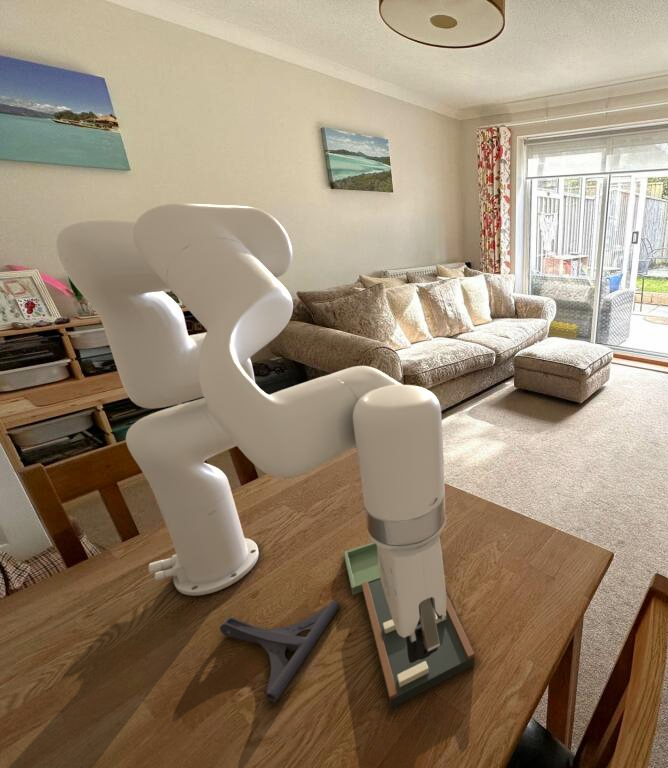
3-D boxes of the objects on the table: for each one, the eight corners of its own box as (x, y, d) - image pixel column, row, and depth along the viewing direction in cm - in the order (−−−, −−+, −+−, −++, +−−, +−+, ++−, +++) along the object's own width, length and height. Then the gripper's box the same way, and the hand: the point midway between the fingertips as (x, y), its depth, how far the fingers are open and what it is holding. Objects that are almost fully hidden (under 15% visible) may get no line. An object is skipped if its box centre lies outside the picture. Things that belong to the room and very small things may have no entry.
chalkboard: (391, 708, 53) (389, 697, 52) (363, 593, 69) (361, 583, 68) (474, 665, 58) (474, 653, 58) (430, 567, 75) (429, 557, 74)
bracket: (261, 592, 69) (257, 580, 68) (340, 608, 66) (338, 596, 65) (182, 680, 56) (176, 667, 55) (278, 703, 53) (273, 690, 52)
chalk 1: (385, 634, 61) (384, 629, 60) (383, 627, 61) (382, 623, 61) (411, 622, 62) (410, 618, 62) (409, 616, 63) (408, 612, 63)
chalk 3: (421, 630, 61) (421, 626, 61) (419, 624, 62) (418, 619, 62) (446, 619, 63) (446, 614, 63) (443, 613, 64) (443, 608, 64)
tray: (352, 595, 69) (351, 588, 68) (344, 558, 76) (343, 551, 76) (437, 562, 76) (437, 556, 75) (422, 531, 83) (422, 525, 83)
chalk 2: (399, 687, 54) (399, 682, 53) (397, 679, 55) (396, 674, 54) (428, 673, 56) (428, 668, 55) (426, 665, 56) (425, 660, 56)
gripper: (352, 476, 44) (370, 598, 51) (387, 588, 31) (404, 732, 38) (419, 460, 48) (427, 576, 54) (476, 553, 34) (477, 691, 41)
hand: (418, 639), depth 46 cm, fingers open, 3 cm apart
